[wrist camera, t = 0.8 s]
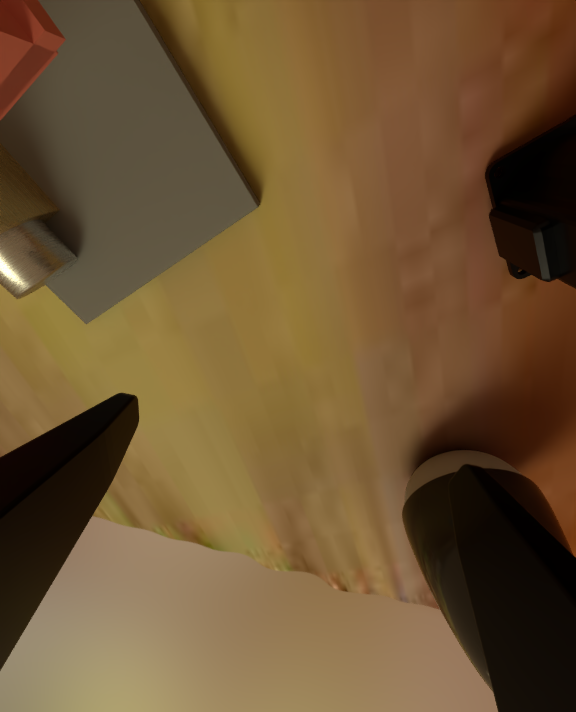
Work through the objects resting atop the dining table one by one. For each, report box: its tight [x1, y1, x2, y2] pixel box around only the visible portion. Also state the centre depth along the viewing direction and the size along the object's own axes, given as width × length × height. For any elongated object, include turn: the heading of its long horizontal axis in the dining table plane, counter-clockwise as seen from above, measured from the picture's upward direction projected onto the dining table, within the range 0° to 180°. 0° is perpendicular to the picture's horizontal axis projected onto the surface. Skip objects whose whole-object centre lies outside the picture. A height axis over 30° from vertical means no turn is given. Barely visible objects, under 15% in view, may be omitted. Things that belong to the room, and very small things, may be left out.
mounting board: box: [0, 0, 260, 324], centre depth 16 cm, size 14×12×1 cm
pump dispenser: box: [402, 450, 574, 691], centre depth 22 cm, size 10×10×15 cm
